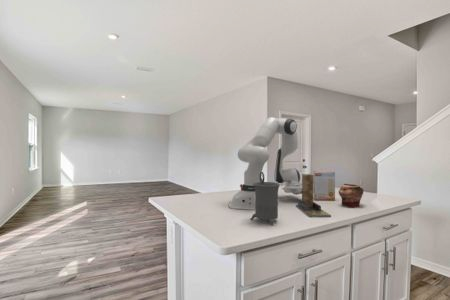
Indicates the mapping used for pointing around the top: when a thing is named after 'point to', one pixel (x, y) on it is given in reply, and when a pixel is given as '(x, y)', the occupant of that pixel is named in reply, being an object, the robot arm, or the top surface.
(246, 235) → the top surface
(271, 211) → the footed curly-handled cup
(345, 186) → the decorative planter
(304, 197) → the walnut block
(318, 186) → the cracker box
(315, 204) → the steel chute
